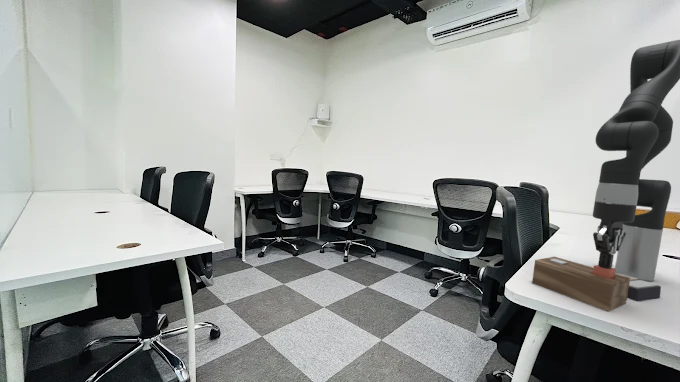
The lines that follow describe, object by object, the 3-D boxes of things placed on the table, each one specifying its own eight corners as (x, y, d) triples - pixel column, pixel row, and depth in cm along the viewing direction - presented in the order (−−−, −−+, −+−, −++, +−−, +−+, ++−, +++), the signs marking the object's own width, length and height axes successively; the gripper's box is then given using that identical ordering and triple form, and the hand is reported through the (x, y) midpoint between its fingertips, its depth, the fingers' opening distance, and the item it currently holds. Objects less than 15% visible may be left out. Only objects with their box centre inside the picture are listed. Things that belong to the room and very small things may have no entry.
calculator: (596, 266, 89) (662, 283, 75) (595, 279, 90) (660, 298, 75) (574, 268, 86) (638, 286, 72) (573, 281, 86) (636, 302, 72)
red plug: (595, 289, 73) (599, 264, 72) (611, 294, 70) (615, 268, 69) (590, 291, 71) (594, 265, 71) (606, 296, 68) (610, 270, 68)
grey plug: (551, 280, 82) (554, 258, 81) (564, 285, 79) (567, 262, 78) (546, 282, 80) (549, 259, 80) (558, 287, 77) (562, 263, 77)
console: (551, 277, 85) (554, 256, 84) (626, 303, 70) (630, 277, 70) (532, 282, 80) (535, 260, 79) (608, 311, 65) (612, 283, 64)
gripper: (606, 199, 75) (597, 260, 76) (584, 199, 69) (574, 265, 70) (645, 203, 68) (634, 269, 70) (625, 204, 62) (613, 276, 63)
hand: (604, 267), depth 70 cm, fingers closed
